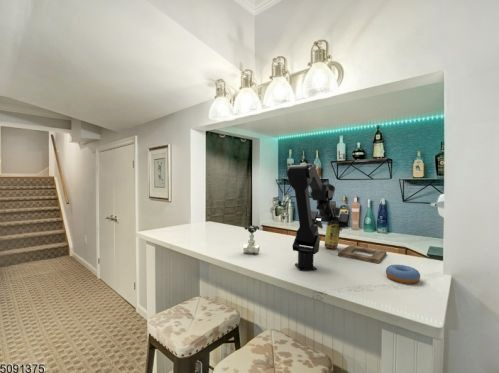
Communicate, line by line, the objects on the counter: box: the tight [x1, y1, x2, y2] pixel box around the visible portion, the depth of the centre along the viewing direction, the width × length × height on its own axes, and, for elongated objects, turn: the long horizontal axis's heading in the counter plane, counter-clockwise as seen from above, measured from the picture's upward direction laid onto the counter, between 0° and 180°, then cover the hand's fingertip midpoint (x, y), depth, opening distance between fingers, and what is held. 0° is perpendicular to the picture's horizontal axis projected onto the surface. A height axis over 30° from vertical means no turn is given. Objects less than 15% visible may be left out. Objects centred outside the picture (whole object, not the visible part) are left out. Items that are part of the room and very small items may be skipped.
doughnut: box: [385, 264, 421, 285], centre depth 86 cm, size 10×10×5 cm
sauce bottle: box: [324, 206, 341, 250], centre depth 124 cm, size 7×6×20 cm
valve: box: [243, 224, 260, 255], centre depth 113 cm, size 7×7×12 cm
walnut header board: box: [337, 244, 387, 264], centre depth 113 cm, size 16×16×2 cm
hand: (331, 229), depth 125 cm, fingers open, 9 cm apart
